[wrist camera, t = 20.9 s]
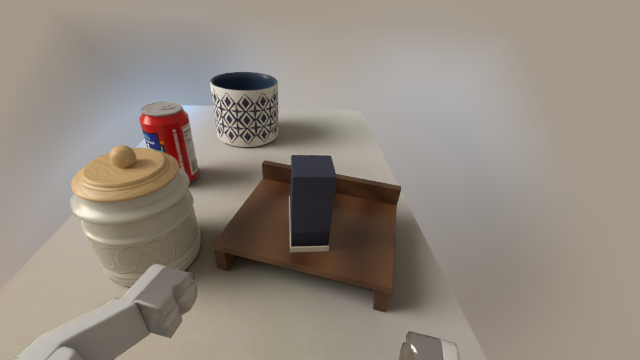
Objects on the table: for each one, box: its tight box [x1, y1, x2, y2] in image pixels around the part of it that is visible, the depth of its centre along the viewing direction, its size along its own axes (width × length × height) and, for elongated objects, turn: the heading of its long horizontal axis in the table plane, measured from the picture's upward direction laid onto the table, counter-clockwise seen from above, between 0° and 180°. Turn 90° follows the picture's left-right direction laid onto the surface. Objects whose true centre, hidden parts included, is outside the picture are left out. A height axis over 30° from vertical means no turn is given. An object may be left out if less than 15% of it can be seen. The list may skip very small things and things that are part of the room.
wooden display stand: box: [213, 161, 401, 312], centre depth 45 cm, size 24×18×8 cm
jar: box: [70, 145, 201, 287], centre depth 39 cm, size 13×13×18 cm
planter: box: [210, 72, 278, 147], centre depth 75 cm, size 16×16×14 cm
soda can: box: [140, 102, 199, 182], centre depth 56 cm, size 8×8×15 cm
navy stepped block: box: [289, 155, 337, 252], centre depth 41 cm, size 5×11×12 cm, turn 6°
